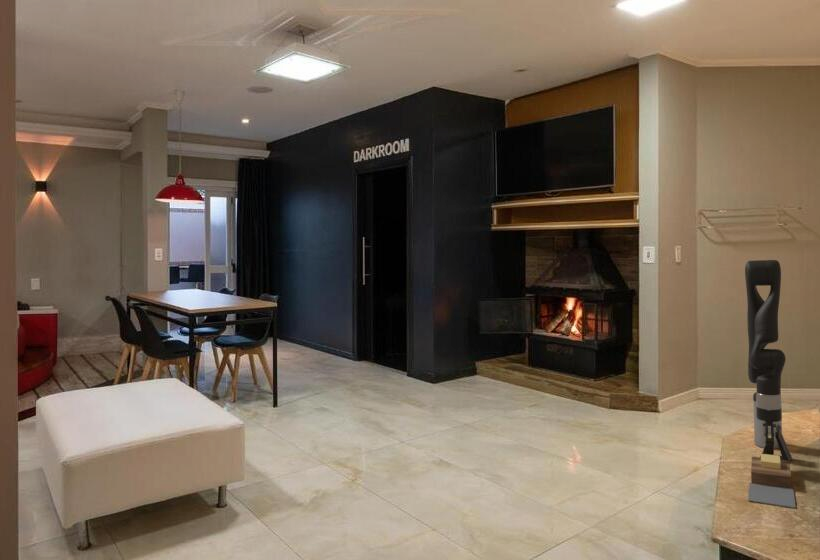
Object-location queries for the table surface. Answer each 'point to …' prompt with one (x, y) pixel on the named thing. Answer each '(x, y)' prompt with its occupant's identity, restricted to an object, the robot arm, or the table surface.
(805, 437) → the table surface
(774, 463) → the yellow block
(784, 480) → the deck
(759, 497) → the mat
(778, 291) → the robot arm
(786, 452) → the phone stand
